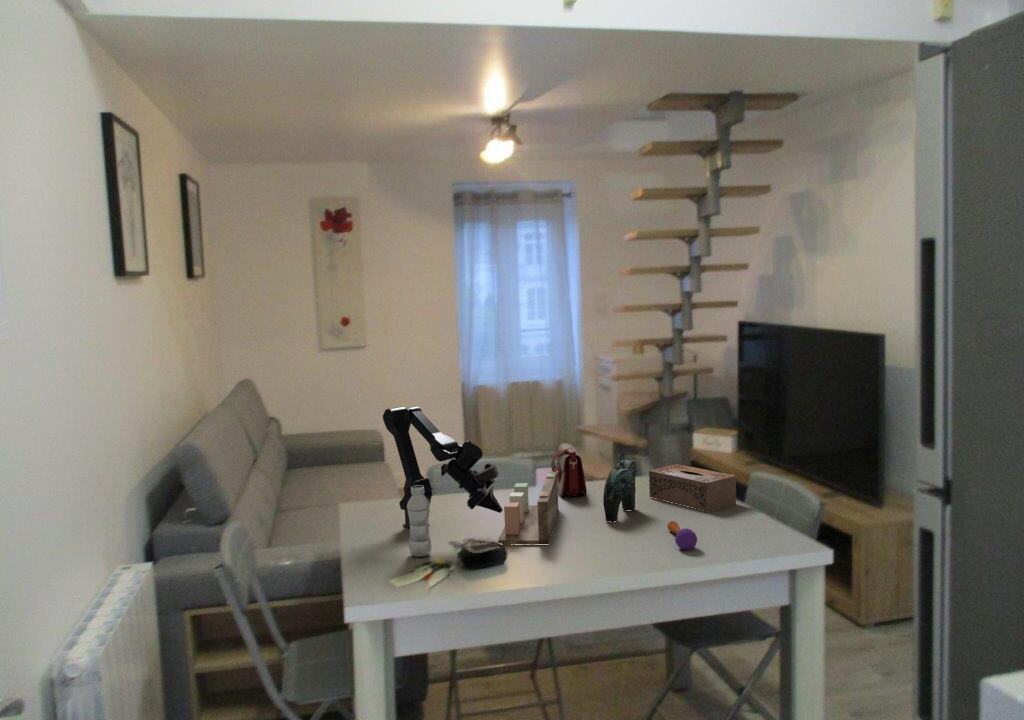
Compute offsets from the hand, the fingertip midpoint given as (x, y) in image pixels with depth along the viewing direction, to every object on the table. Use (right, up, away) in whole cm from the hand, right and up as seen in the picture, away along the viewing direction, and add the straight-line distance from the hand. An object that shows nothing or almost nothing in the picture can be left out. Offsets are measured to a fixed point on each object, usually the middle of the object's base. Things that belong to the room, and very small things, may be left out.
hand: (501, 511), depth 240 cm
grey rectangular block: (+5, -5, +12) cm, 14 cm away
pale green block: (+6, -4, +24) cm, 25 cm away
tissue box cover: (+65, -3, +34) cm, 73 cm away
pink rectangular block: (+3, -6, 0) cm, 7 cm away
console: (+8, -7, +12) cm, 16 cm away
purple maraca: (+52, -7, -9) cm, 53 cm away
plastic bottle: (-23, -10, -13) cm, 28 cm away
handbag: (+24, -3, +56) cm, 61 cm away
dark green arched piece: (+39, -5, +20) cm, 44 cm away
